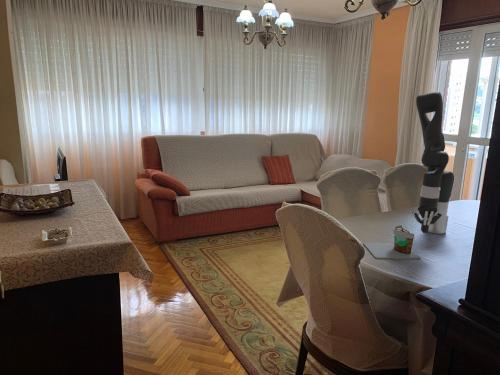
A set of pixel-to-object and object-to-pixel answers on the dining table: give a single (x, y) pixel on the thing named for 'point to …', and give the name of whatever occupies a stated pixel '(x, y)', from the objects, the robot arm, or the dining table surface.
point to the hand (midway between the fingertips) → (424, 232)
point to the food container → (402, 240)
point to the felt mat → (388, 251)
